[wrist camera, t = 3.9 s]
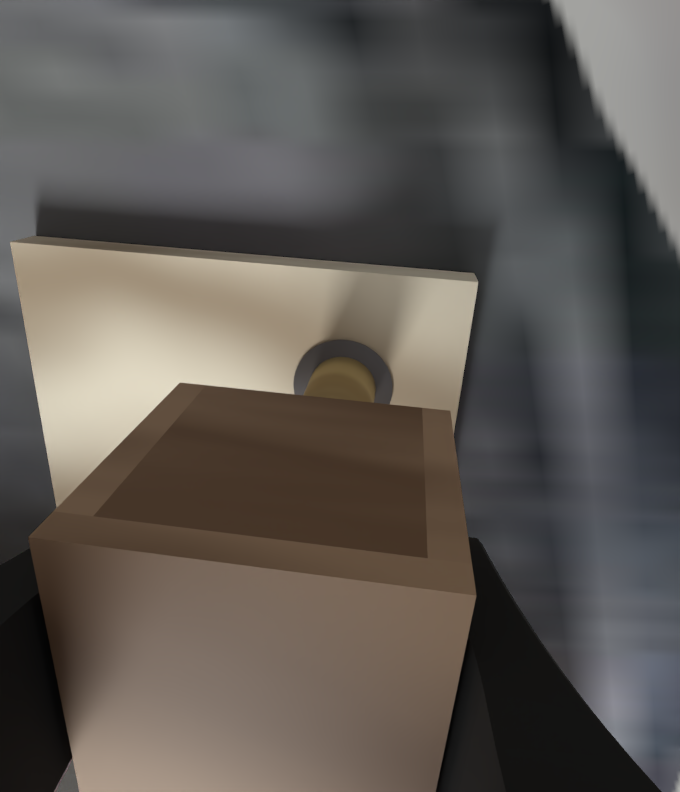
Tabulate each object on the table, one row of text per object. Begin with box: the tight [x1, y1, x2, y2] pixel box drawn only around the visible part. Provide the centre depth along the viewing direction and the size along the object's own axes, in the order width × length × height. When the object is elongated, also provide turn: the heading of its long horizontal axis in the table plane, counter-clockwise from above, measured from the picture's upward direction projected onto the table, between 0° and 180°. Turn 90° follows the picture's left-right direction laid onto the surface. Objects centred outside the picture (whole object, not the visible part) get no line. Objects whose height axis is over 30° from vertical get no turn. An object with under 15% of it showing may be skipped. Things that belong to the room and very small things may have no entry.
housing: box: [28, 383, 476, 792], centre depth 9 cm, size 5×5×5 cm
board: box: [10, 236, 478, 508], centre depth 19 cm, size 19×14×4 cm
